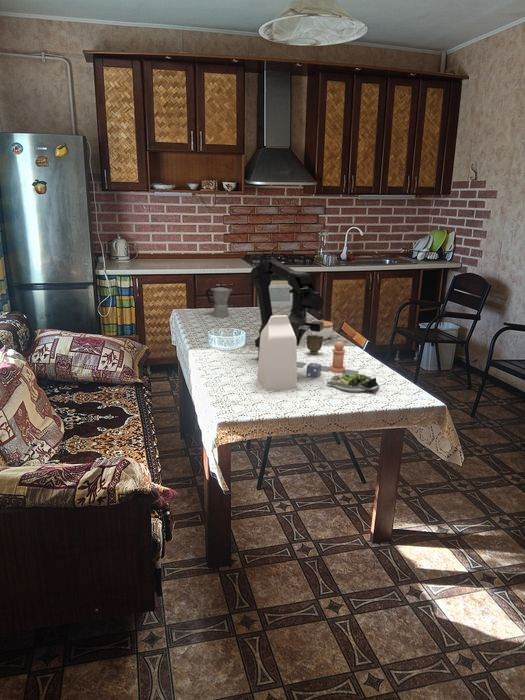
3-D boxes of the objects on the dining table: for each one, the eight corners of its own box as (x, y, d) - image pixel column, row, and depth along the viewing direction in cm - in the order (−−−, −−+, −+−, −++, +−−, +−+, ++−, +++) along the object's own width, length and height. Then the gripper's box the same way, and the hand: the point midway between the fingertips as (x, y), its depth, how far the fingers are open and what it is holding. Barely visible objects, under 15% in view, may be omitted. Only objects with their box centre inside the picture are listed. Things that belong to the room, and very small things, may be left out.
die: (306, 377, 209) (306, 365, 208) (309, 373, 213) (310, 362, 212) (317, 378, 208) (318, 367, 206) (320, 375, 212) (321, 364, 210)
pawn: (335, 373, 213) (337, 344, 209) (326, 369, 218) (328, 340, 214) (347, 372, 216) (350, 342, 212) (339, 367, 221) (341, 338, 217)
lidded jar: (315, 341, 258) (316, 322, 255) (306, 336, 268) (308, 317, 265) (335, 340, 261) (337, 321, 259) (326, 334, 271) (327, 316, 268)
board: (289, 366, 221) (289, 366, 220) (294, 361, 227) (294, 361, 227) (355, 376, 211) (355, 376, 211) (359, 371, 217) (359, 371, 217)
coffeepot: (230, 313, 310) (231, 282, 305) (233, 317, 301) (234, 285, 296) (204, 313, 307) (204, 282, 302) (206, 317, 298) (206, 285, 293)
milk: (265, 390, 194) (268, 320, 186) (256, 379, 204) (258, 312, 197) (296, 388, 197) (300, 319, 189) (286, 377, 207) (289, 311, 200)
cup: (321, 357, 235) (322, 339, 232) (304, 355, 236) (305, 338, 234) (322, 352, 242) (324, 335, 239) (306, 350, 243) (307, 333, 241)
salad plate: (331, 395, 192) (332, 383, 191) (321, 378, 209) (321, 367, 208) (383, 395, 194) (385, 383, 193) (369, 378, 211) (370, 367, 210)
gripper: (269, 307, 201) (267, 347, 206) (316, 313, 195) (314, 354, 199) (279, 302, 211) (277, 340, 216) (325, 307, 205) (322, 346, 209)
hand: (297, 345), depth 210 cm, fingers closed
